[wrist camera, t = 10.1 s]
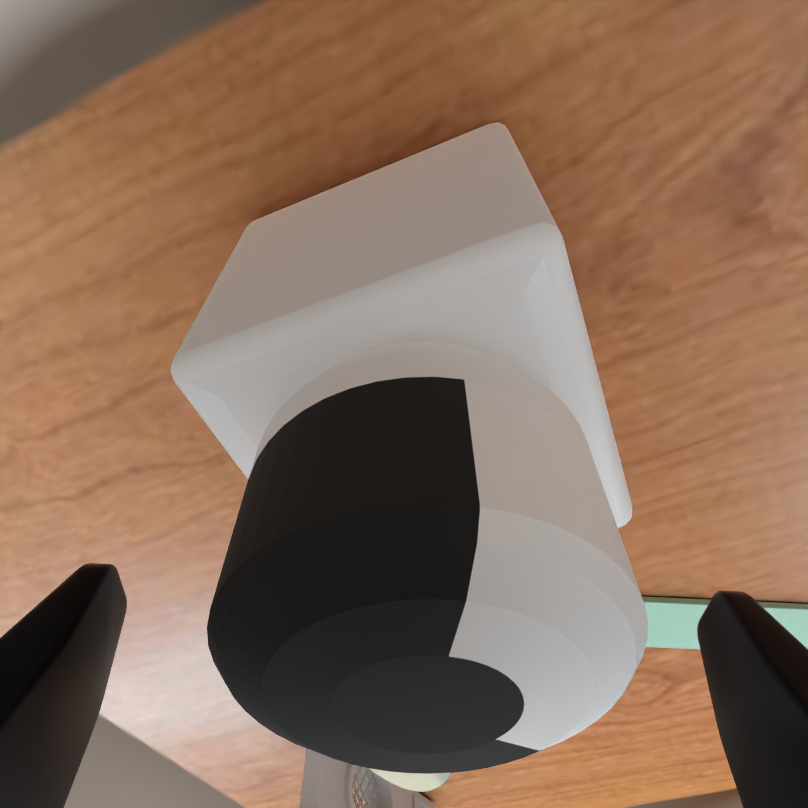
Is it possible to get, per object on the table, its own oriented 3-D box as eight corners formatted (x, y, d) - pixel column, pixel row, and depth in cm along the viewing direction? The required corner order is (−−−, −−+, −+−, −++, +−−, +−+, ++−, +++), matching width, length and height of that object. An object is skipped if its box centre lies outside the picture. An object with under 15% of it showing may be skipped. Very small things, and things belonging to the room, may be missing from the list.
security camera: (354, 418, 21) (307, 843, 11) (242, 221, 17) (15, 615, 7) (570, 349, 19) (737, 779, 9) (503, 113, 15) (671, 434, 5)
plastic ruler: (876, 606, 26) (880, 612, 26) (839, 649, 28) (843, 655, 28) (523, 590, 26) (524, 596, 26) (510, 635, 28) (511, 641, 28)
